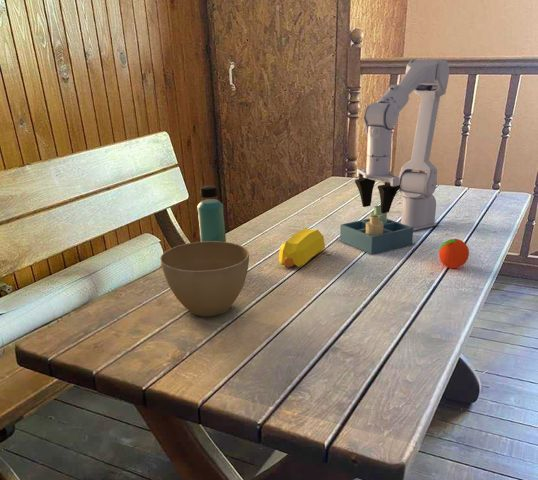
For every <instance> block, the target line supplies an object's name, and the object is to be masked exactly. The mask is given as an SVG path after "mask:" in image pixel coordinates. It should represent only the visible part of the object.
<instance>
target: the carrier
mask: <svg viewBox="0 0 538 480" xmlns="http://www.w3.org/2000/svg"><path fill="white" fill-rule="evenodd" d="M368 221H370V217H369V218H364V219H359V220H356V221H355V220H354V221H351V222H346V223H341V224H340V227H339V228H340V229H339V232H340V233H339V236H340V237H339V241H340V242H342V243H345V244H347V245H349V246H352V247H353V248H356V249H358V250H361V251H363V252H365V253H367V254H370V255H374V254H379V253H383V252H386V251H391V250H394V249H399V248H403V247H407V246H411V245H413V238H414V231H413V227H410V226H407V225H404V224H401V223H398V222H399V221H395V220H392V219H389V218H387V222H386V224H384V227H383V234H380V235H375V236H371V235H368V234H366V222H368Z"/></svg>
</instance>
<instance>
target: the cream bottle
mask: <svg viewBox="0 0 538 480" xmlns="http://www.w3.org/2000/svg"><path fill="white" fill-rule="evenodd" d="M369 218H370V221H368V222H366V234H368V235H371V236H375V235H380V234H383V227H384V223H383V222H381V221H380V216H379V215H371V216H370V215H369Z"/></svg>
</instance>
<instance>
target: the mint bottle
mask: <svg viewBox="0 0 538 480" xmlns="http://www.w3.org/2000/svg"><path fill="white" fill-rule="evenodd" d="M371 215H379V216H380V221H381V222H383V223H384V224H386V222H387V219H388V218H387V217H388V213H381V205H375V206H374V207H373V211H370V213H369V217H370V216H371Z"/></svg>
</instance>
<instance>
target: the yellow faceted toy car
mask: <svg viewBox="0 0 538 480" xmlns="http://www.w3.org/2000/svg"><path fill="white" fill-rule="evenodd" d="M324 249H326V245H325V238H324V235H323V234H322V233H321V232H320V231H319V229H310V228H307V227H305V228H303V229H301V230H299V231H297V232H296V233H294V234H293V235H291V236H290V237H289V238H288V239H287V240H286V241H285V242H283V244H281V246H279V250H278V251H279V252H278V261H279V263H280V265H281V266H285V267H288V268H292V267H293V266H294V265H295V266H296V267H298V268H300V269H301V268H302V267H303V266H305V264H307V263H308V262H309V261H310V260H311V259H312V258H313V257H315V256H317V255H319V254H320V253H321V252H322V251H323V250H324Z"/></svg>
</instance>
